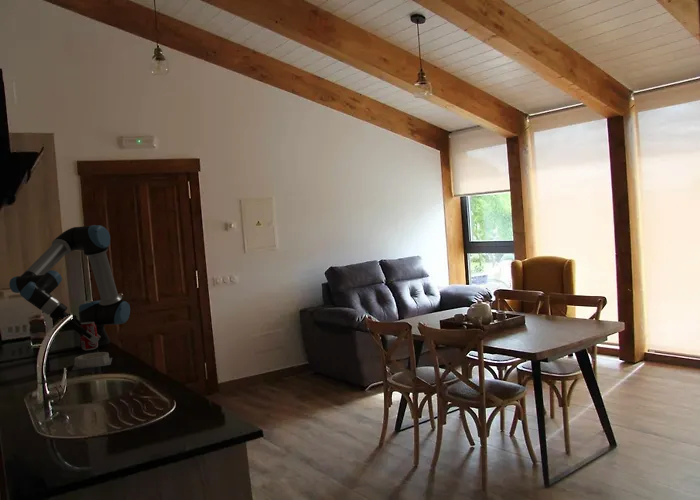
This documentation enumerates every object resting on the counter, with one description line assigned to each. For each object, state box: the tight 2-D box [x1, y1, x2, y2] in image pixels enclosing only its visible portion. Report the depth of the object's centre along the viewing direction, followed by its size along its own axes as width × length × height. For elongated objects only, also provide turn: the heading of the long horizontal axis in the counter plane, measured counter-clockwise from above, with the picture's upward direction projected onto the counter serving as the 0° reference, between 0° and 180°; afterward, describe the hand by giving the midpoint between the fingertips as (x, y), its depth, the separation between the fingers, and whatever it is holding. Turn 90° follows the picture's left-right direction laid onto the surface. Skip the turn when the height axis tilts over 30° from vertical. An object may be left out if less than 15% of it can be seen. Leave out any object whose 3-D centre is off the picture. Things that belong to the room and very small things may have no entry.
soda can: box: [79, 322, 99, 351], centre depth 275 cm, size 7×7×12 cm
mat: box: [71, 357, 113, 371], centre depth 277 cm, size 16×16×1 cm
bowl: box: [74, 351, 110, 369], centre depth 276 cm, size 14×14×4 cm
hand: (97, 340), depth 277 cm, fingers closed on soda can, 7 cm apart
